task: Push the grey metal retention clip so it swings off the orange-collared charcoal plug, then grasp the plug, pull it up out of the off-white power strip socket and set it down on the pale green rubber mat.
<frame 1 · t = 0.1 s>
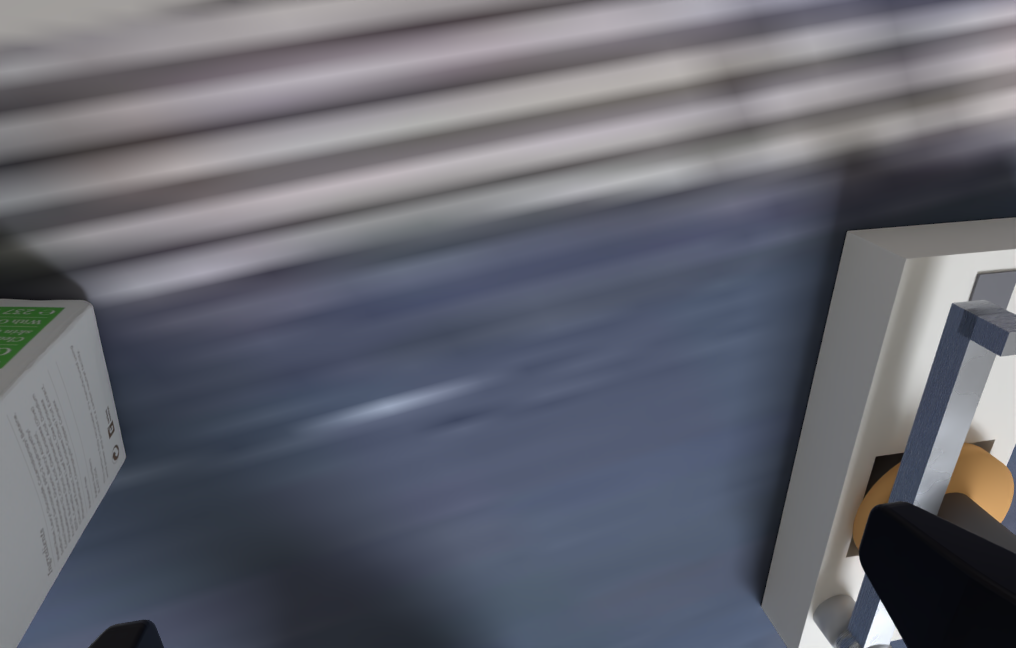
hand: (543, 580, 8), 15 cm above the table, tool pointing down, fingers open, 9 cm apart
plug: (868, 455, 29), resting in power strip
clip: (921, 525, 23), point 6 cm above the table, hinge at 0.0°
power strip: (869, 455, 29), on the table
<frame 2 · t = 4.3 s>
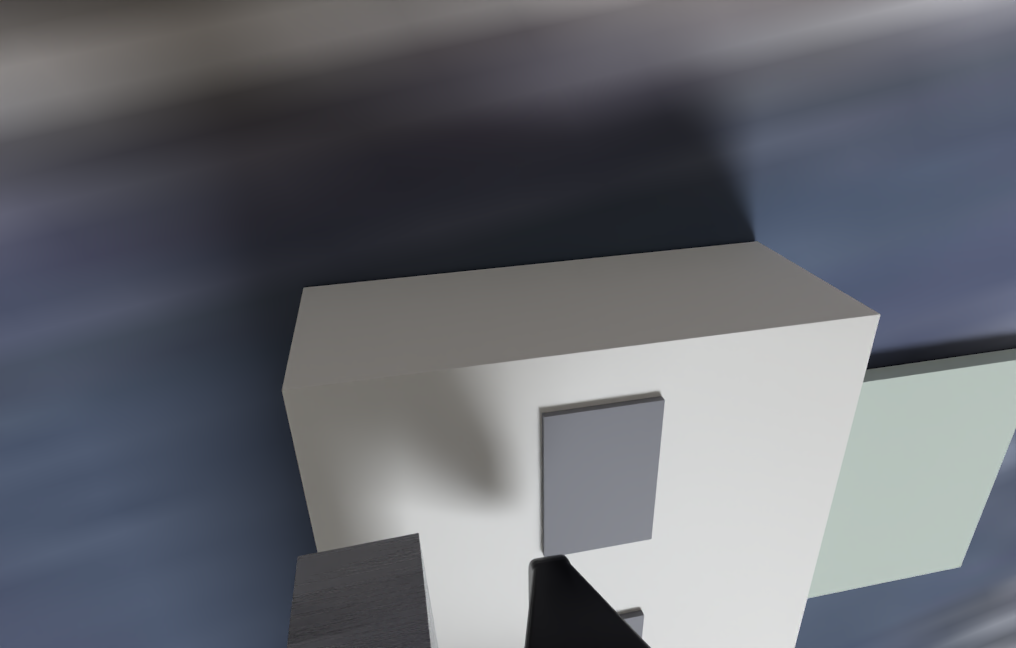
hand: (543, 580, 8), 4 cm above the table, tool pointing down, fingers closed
mat: (869, 480, 14), on the table
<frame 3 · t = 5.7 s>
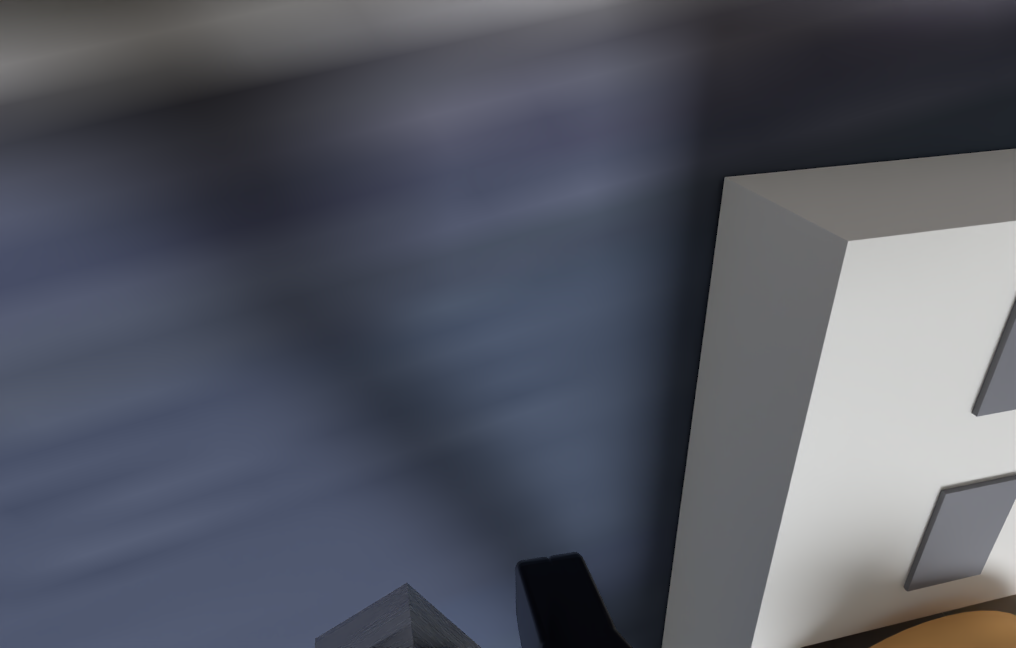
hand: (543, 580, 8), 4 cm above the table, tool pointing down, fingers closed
plug: (802, 585, 16), resting in power strip
power strip: (803, 586, 16), on the table
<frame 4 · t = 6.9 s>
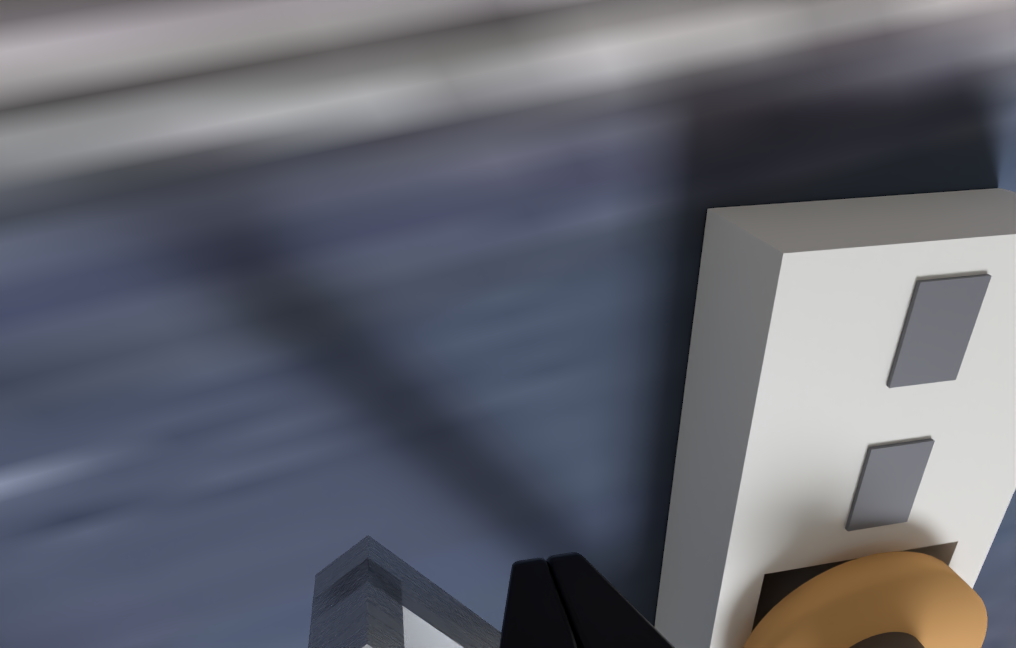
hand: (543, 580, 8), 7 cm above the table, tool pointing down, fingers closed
plug: (777, 547, 20), resting in power strip
power strip: (778, 548, 20), on the table
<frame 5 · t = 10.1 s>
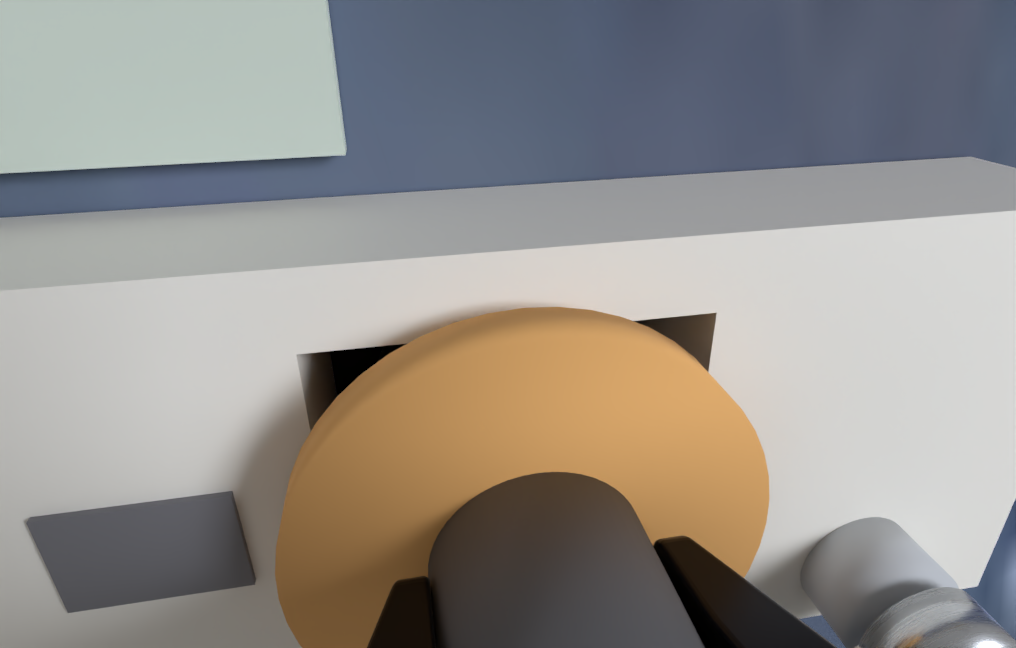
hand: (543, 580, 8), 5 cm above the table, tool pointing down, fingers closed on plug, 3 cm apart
plug: (487, 388, 12), resting in power strip, touching gripper
power strip: (487, 389, 12), on the table
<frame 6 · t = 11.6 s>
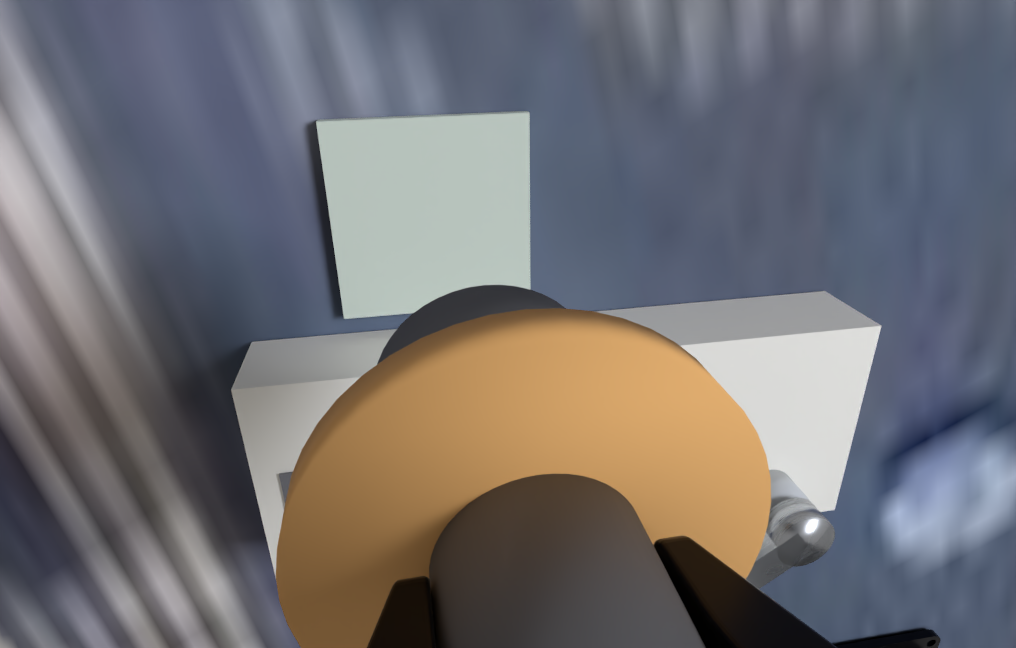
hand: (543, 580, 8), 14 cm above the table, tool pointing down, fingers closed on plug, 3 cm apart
mat: (431, 216, 20), on the table
plug: (487, 389, 12), point 9 cm above the table, touching gripper
power strip: (581, 406, 24), on the table
when the fingers open (6 cm above the table, at t = 13.3 s): plug stays where it is, resting on mat.
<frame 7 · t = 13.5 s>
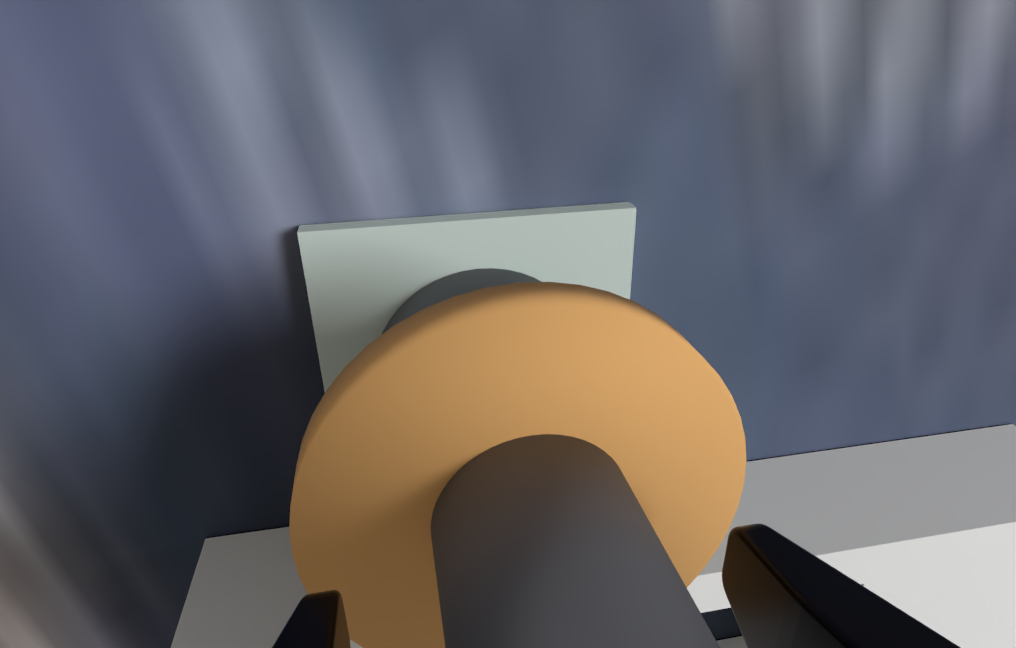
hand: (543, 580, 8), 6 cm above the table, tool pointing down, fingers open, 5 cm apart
mat: (477, 357, 13), on the table
plug: (482, 368, 13), resting on mat
power strip: (674, 582, 17), on the table
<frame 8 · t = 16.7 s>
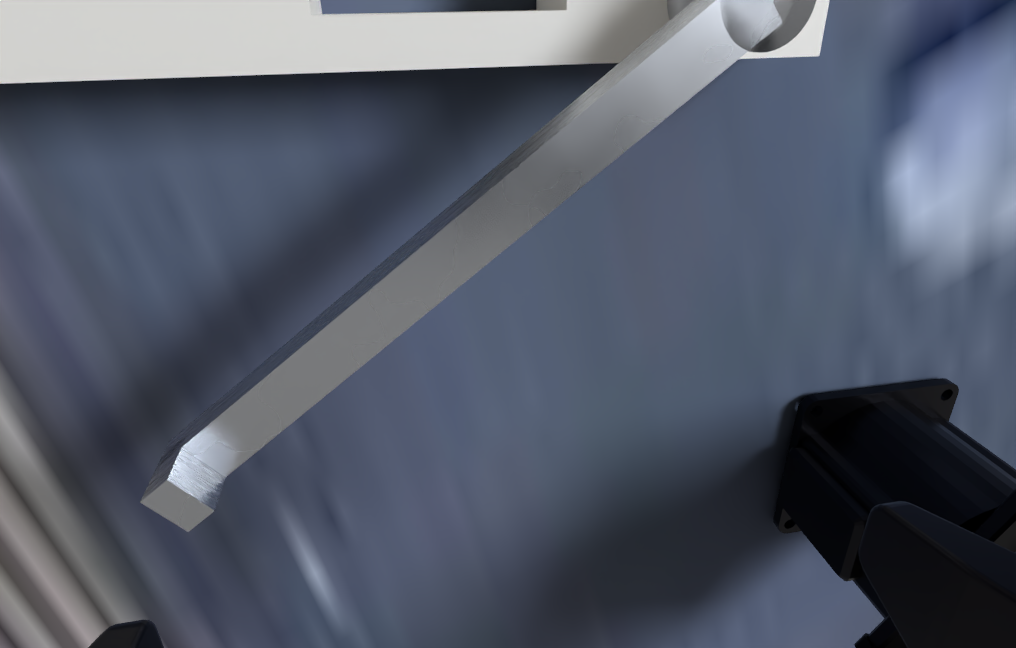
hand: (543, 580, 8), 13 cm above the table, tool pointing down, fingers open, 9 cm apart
clip: (467, 246, 13), point 6 cm above the table, hinge at 37.0°
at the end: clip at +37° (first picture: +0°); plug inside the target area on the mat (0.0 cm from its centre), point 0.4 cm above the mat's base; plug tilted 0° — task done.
